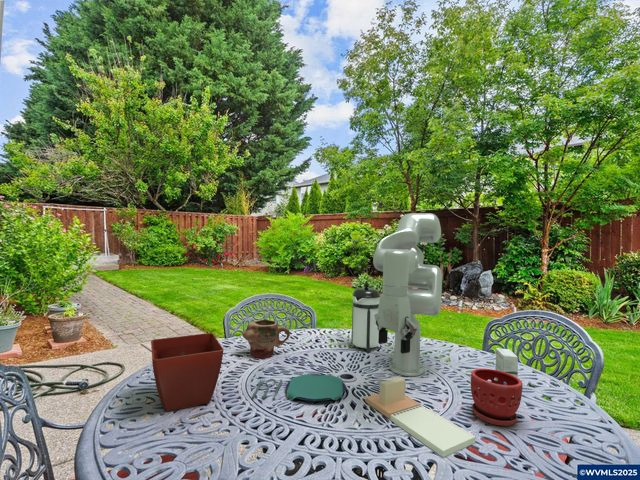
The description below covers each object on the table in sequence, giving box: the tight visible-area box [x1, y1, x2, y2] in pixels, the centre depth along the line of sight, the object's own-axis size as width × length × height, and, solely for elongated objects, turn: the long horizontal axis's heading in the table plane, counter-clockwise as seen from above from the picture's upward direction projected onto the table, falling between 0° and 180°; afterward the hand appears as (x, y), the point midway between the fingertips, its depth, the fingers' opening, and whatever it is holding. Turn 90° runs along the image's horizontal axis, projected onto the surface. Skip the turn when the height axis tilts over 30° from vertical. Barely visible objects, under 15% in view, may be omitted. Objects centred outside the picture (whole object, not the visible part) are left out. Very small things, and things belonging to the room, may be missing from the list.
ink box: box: [494, 347, 519, 385], centre depth 118 cm, size 9×5×12 cm, turn 168°
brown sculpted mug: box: [242, 319, 291, 359], centre depth 143 cm, size 20×12×14 cm, turn 98°
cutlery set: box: [251, 373, 347, 403], centre depth 111 cm, size 20×30×2 cm, turn 87°
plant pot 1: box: [150, 332, 224, 413], centre depth 103 cm, size 19×19×17 cm
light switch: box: [364, 376, 421, 420], centre depth 102 cm, size 11×12×7 cm
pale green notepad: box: [389, 404, 477, 458], centre depth 89 cm, size 18×12×2 cm, turn 30°
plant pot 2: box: [470, 368, 523, 427], centre depth 97 cm, size 13×13×12 cm
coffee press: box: [348, 282, 382, 354], centre depth 156 cm, size 17×16×30 cm
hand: (393, 347), depth 102 cm, fingers open, 9 cm apart
